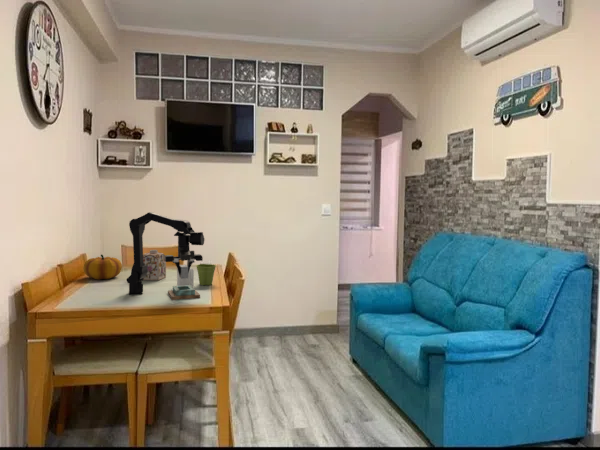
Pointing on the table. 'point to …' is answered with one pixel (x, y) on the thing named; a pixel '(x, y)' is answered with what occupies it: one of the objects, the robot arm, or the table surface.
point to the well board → (183, 292)
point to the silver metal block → (183, 271)
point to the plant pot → (205, 273)
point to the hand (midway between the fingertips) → (183, 274)
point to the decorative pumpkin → (102, 267)
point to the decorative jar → (154, 265)
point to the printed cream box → (186, 281)
